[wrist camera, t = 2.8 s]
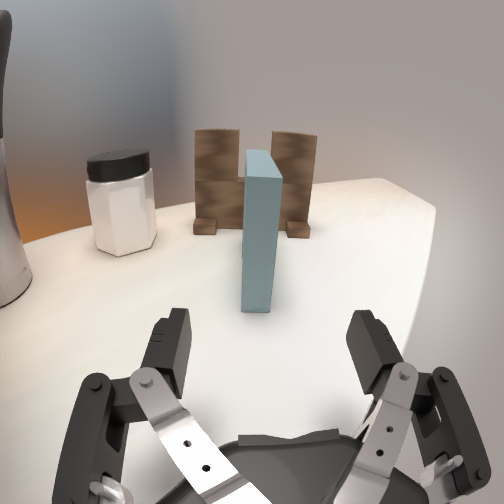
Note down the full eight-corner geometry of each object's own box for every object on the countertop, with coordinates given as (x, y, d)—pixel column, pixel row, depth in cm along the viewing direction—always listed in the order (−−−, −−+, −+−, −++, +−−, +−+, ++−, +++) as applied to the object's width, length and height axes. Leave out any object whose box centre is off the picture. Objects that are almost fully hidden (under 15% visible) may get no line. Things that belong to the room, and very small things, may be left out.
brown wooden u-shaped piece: (193, 234, 38) (191, 131, 31) (200, 215, 44) (200, 127, 37) (308, 238, 38) (321, 137, 31) (300, 219, 44) (309, 133, 38)
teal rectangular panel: (269, 312, 24) (283, 178, 19) (241, 311, 24) (246, 176, 19) (261, 241, 37) (267, 150, 31) (242, 240, 37) (246, 149, 31)
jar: (111, 228, 38) (102, 151, 33) (161, 226, 39) (156, 146, 34) (90, 257, 31) (73, 164, 25) (148, 257, 32) (138, 157, 26)
